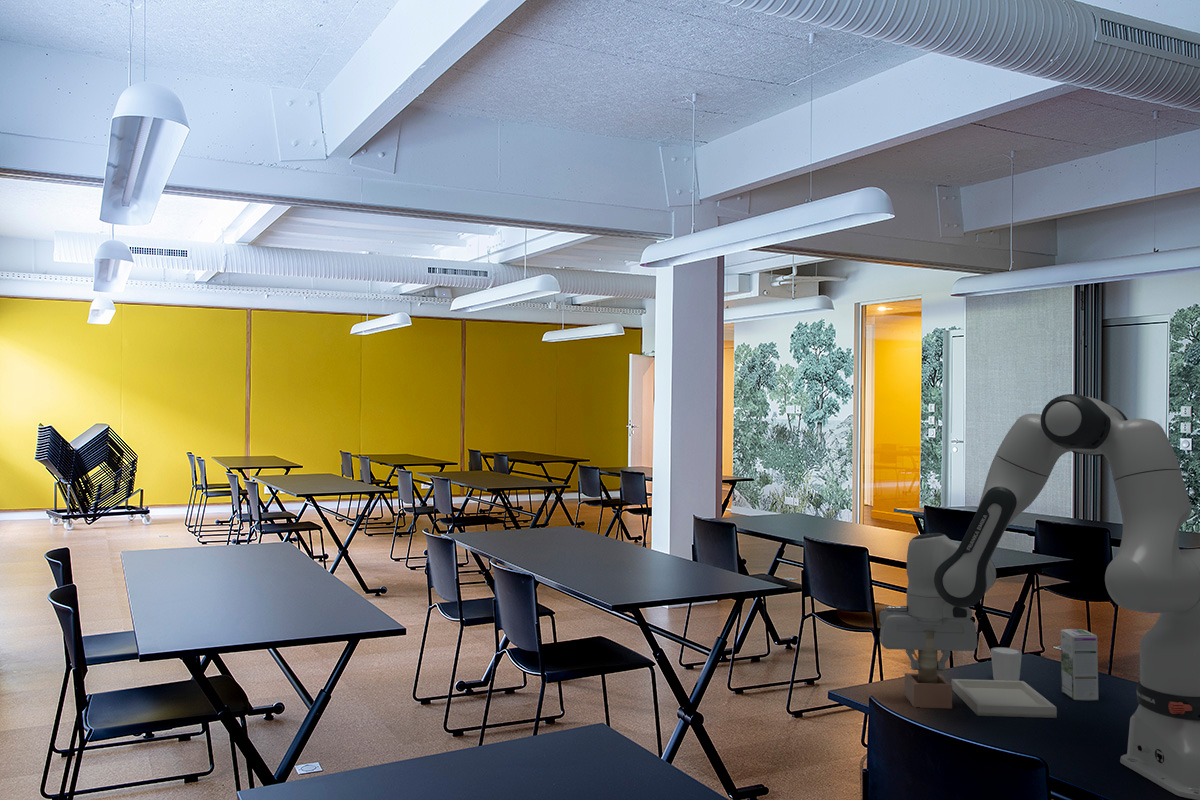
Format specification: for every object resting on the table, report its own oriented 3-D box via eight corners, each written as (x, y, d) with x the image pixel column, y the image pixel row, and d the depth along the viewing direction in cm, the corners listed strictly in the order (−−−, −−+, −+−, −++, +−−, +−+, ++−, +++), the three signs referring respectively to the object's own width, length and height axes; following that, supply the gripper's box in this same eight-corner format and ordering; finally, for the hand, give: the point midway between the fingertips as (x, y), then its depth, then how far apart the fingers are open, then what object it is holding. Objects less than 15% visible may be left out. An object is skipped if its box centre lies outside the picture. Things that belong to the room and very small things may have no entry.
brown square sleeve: (952, 708, 192) (952, 685, 192) (914, 707, 193) (913, 684, 193) (941, 696, 200) (941, 674, 200) (904, 695, 201) (904, 673, 201)
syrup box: (1099, 700, 198) (1099, 635, 198) (1072, 700, 198) (1072, 634, 198) (1086, 692, 203) (1085, 628, 203) (1059, 692, 203) (1059, 628, 204)
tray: (1056, 717, 187) (1056, 707, 187) (977, 715, 188) (977, 705, 188) (1023, 690, 204) (1023, 680, 204) (951, 688, 206) (951, 679, 206)
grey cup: (1025, 685, 208) (1025, 655, 209) (994, 683, 210) (994, 653, 210) (1017, 676, 215) (1017, 647, 215) (987, 674, 217) (987, 645, 217)
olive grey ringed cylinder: (939, 705, 194) (939, 631, 195) (921, 704, 195) (920, 631, 195) (934, 699, 198) (934, 627, 199) (916, 698, 199) (916, 626, 199)
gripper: (882, 608, 195) (882, 672, 194) (979, 610, 193) (979, 675, 193) (876, 602, 201) (876, 664, 201) (970, 604, 199) (970, 666, 199)
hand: (927, 669), depth 197 cm, fingers closed on olive grey ringed cylinder, 4 cm apart
